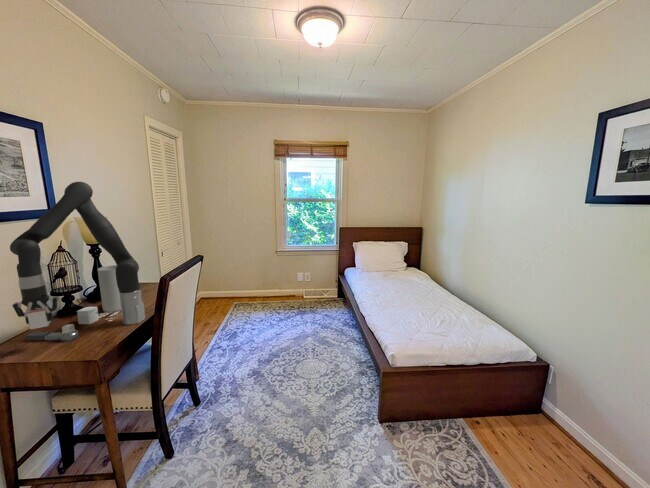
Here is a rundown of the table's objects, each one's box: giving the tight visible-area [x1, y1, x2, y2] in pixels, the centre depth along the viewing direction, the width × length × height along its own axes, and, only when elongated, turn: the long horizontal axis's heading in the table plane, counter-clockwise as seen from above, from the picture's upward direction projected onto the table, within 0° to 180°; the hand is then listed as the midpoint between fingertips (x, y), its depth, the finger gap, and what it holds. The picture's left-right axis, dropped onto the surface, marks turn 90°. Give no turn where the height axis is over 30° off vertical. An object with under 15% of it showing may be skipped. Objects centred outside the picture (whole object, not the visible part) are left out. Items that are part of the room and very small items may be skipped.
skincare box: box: [76, 306, 100, 325], centre depth 148 cm, size 6×6×7 cm
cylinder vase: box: [97, 264, 121, 313], centre depth 164 cm, size 12×12×25 cm
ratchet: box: [24, 323, 80, 343], centre depth 130 cm, size 21×6×6 cm, turn 93°
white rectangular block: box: [27, 308, 52, 330], centre depth 122 cm, size 6×6×8 cm
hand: (40, 322), depth 122 cm, fingers closed on white rectangular block, 5 cm apart
